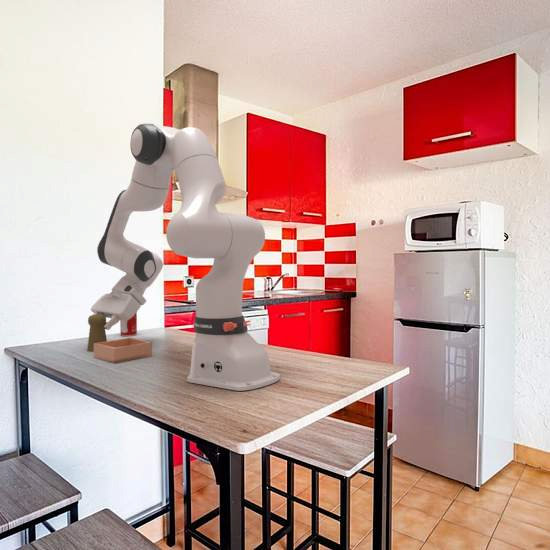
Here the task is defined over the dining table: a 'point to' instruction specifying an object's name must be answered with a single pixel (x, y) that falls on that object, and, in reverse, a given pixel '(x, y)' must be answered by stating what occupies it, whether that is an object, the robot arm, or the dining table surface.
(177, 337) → the dining table surface
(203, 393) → the dining table surface
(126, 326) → the beverage can
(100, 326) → the cork
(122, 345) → the shallow wooden box
